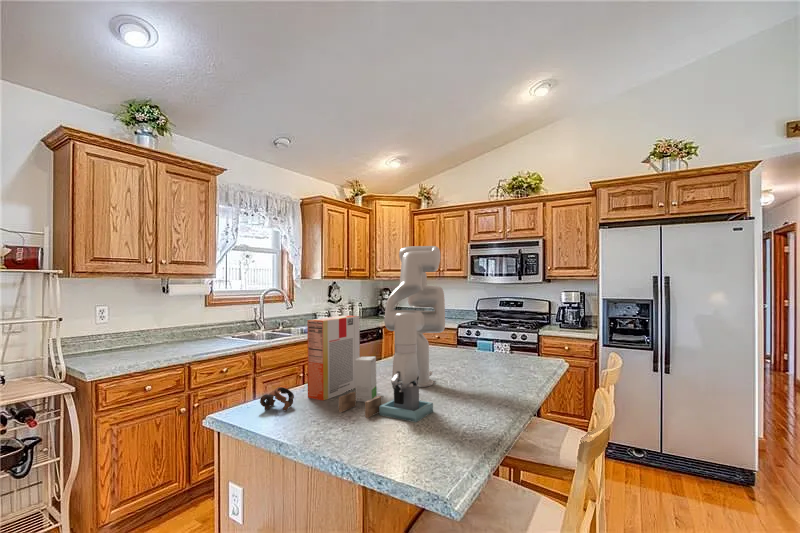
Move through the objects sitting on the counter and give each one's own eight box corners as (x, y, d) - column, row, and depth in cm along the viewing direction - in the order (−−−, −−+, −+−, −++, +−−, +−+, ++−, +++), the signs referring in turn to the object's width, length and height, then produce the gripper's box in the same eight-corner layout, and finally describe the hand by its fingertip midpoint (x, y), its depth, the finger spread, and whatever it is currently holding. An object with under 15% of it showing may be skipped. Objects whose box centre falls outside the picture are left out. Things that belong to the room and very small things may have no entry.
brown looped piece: (277, 404, 151) (288, 385, 150) (290, 420, 145) (301, 401, 145) (250, 403, 142) (261, 383, 141) (262, 421, 136) (274, 400, 135)
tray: (398, 405, 146) (398, 397, 146) (433, 411, 138) (432, 402, 138) (379, 415, 135) (379, 406, 135) (416, 422, 128) (415, 412, 128)
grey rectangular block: (401, 406, 141) (401, 380, 141) (419, 409, 137) (418, 383, 138) (393, 410, 137) (393, 383, 137) (411, 413, 133) (411, 386, 133)
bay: (353, 405, 146) (353, 391, 146) (381, 410, 140) (381, 396, 140) (338, 411, 139) (338, 397, 139) (368, 417, 133) (367, 402, 133)
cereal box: (345, 384, 177) (344, 315, 178) (359, 386, 172) (359, 316, 174) (307, 397, 157) (307, 320, 158) (323, 400, 153) (323, 320, 154)
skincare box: (371, 402, 149) (371, 360, 150) (354, 401, 151) (354, 359, 151) (377, 396, 158) (376, 356, 158) (360, 395, 159) (360, 355, 160)
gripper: (408, 344, 147) (409, 392, 146) (382, 351, 132) (382, 405, 132) (427, 345, 143) (427, 395, 143) (402, 353, 128) (402, 408, 128)
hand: (406, 399), depth 137 cm, fingers open, 9 cm apart
